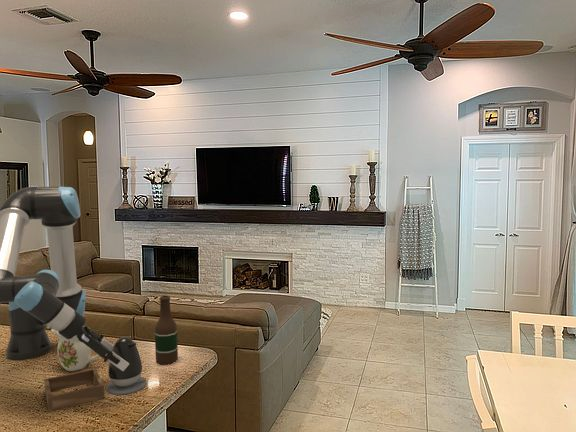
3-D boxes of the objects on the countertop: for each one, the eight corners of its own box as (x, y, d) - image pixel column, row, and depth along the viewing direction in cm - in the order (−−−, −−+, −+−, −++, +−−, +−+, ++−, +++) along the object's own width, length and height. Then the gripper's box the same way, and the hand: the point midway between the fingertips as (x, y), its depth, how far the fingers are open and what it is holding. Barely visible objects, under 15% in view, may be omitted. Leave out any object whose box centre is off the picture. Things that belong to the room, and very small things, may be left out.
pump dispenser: (123, 393, 139) (121, 345, 137) (102, 385, 144) (99, 339, 143) (149, 381, 147) (148, 335, 146) (128, 373, 153) (126, 329, 152)
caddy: (44, 391, 143) (44, 379, 142) (96, 379, 151) (95, 368, 150) (48, 411, 130) (48, 398, 130) (104, 397, 138) (104, 385, 138)
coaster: (103, 383, 148) (103, 381, 148) (141, 375, 154) (141, 372, 154) (110, 398, 137) (110, 396, 137) (150, 388, 144) (150, 386, 144)
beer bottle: (182, 359, 168) (180, 294, 166) (168, 366, 160) (166, 300, 159) (165, 355, 171) (163, 292, 169) (151, 363, 164) (148, 297, 162)
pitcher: (96, 374, 155) (94, 334, 154) (44, 373, 156) (42, 334, 155) (110, 361, 166) (108, 324, 165) (61, 361, 167) (59, 324, 166)
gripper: (52, 321, 144) (104, 357, 153) (62, 344, 123) (121, 384, 133) (69, 302, 147) (119, 338, 156) (82, 322, 126) (139, 363, 135)
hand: (120, 360), depth 144 cm, fingers open, 13 cm apart
